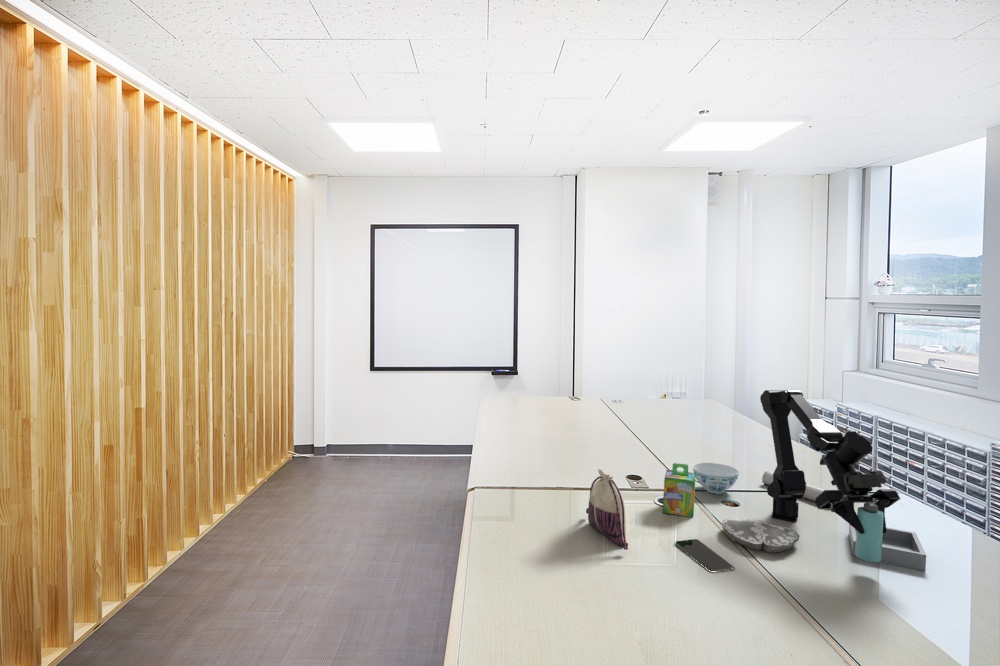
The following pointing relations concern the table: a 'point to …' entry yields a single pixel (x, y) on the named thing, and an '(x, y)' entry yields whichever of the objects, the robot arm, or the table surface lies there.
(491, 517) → the table surface
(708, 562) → the smartphone
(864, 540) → the capped bottle
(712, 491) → the chinaware
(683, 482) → the chalk box
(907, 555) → the tray
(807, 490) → the tube
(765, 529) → the brain slice
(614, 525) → the pouch
